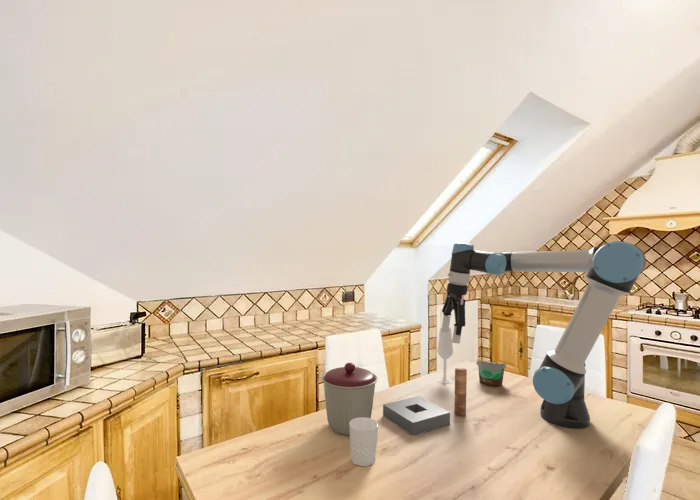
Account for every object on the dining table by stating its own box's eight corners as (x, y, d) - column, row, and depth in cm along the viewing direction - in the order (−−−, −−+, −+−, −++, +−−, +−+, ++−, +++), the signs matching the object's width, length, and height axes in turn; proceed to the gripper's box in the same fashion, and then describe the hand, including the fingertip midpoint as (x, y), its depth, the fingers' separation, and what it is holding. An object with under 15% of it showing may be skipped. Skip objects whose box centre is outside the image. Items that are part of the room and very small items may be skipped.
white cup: (349, 451, 109) (349, 416, 109) (376, 452, 109) (377, 417, 109) (348, 467, 101) (348, 429, 101) (377, 468, 101) (378, 430, 101)
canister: (329, 413, 134) (330, 353, 134) (380, 418, 131) (381, 357, 131) (313, 438, 117) (315, 369, 117) (372, 445, 113) (373, 374, 113)
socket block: (449, 424, 127) (450, 412, 127) (412, 435, 119) (412, 422, 119) (418, 406, 141) (418, 396, 141) (382, 415, 133) (383, 404, 133)
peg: (468, 415, 135) (469, 370, 135) (460, 417, 133) (461, 371, 133) (459, 411, 138) (460, 366, 138) (451, 413, 136) (452, 368, 136)
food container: (473, 384, 166) (474, 361, 166) (476, 380, 171) (476, 358, 171) (504, 390, 160) (504, 366, 160) (505, 385, 165) (506, 362, 165)
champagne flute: (446, 377, 174) (447, 325, 174) (455, 382, 168) (456, 328, 168) (434, 379, 172) (434, 326, 172) (442, 384, 165) (443, 329, 165)
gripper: (439, 276, 158) (431, 326, 159) (459, 288, 133) (450, 347, 135) (456, 278, 158) (449, 328, 160) (480, 290, 133) (471, 349, 135)
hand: (450, 337), depth 147 cm, fingers open, 13 cm apart
